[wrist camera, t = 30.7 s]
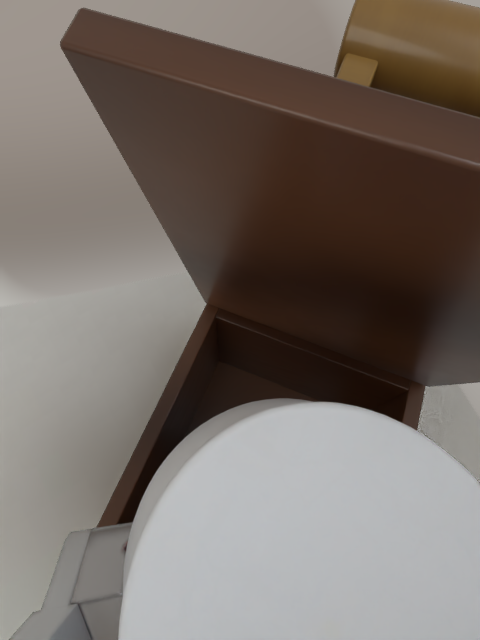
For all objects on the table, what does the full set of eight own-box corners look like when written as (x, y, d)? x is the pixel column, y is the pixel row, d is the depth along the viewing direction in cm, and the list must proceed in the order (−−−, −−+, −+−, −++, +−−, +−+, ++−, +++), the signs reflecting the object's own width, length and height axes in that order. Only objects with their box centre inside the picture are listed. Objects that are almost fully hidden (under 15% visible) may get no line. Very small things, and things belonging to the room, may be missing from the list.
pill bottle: (161, 466, 15) (11, 416, 5) (304, 421, 16) (449, 294, 5) (199, 652, 12) (67, 1420, 2) (365, 587, 13) (819, 916, 3)
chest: (310, 644, 22) (357, 734, 14) (121, 552, 24) (66, 586, 16) (369, 412, 28) (426, 382, 20) (213, 351, 29) (208, 300, 21)
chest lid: (1051, 336, 4) (1045, -10, 5) (55, 43, 6) (184, -178, 7) (428, 387, 19) (454, 299, 20) (204, 303, 21) (238, 225, 22)
